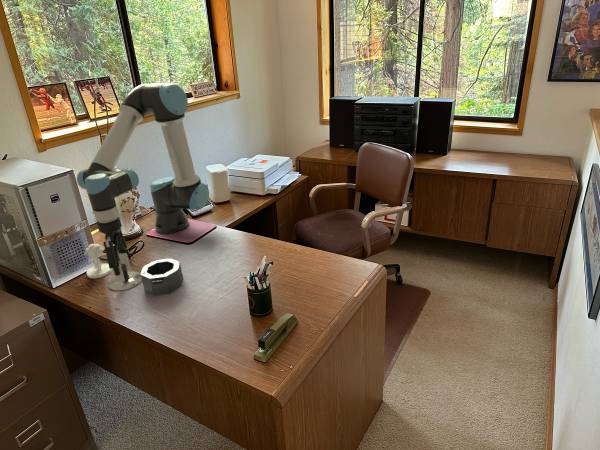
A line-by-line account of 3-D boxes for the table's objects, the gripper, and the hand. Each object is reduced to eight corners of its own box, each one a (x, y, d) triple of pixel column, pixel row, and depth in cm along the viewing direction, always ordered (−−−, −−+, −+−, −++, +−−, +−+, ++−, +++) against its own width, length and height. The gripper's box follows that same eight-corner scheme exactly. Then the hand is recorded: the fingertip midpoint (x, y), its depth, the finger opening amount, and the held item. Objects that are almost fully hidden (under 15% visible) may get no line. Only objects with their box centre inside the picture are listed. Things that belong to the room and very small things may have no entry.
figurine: (82, 275, 165) (72, 248, 160) (101, 264, 172) (93, 237, 167) (98, 280, 161) (89, 252, 156) (117, 268, 168) (109, 241, 163)
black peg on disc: (113, 276, 164) (108, 260, 161) (145, 271, 165) (141, 256, 162) (104, 293, 153) (99, 276, 150) (139, 288, 154) (134, 272, 151)
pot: (150, 275, 161) (146, 259, 158) (184, 271, 162) (181, 255, 159) (141, 299, 147) (137, 282, 144) (180, 294, 148) (176, 277, 145)
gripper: (104, 208, 157) (120, 262, 167) (86, 233, 138) (105, 292, 148) (126, 206, 158) (140, 259, 167) (110, 230, 139) (127, 289, 148)
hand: (123, 275), depth 157 cm, fingers open, 8 cm apart
